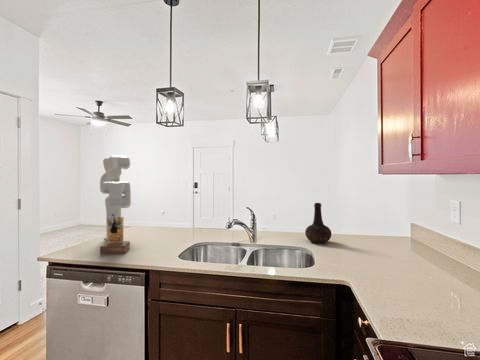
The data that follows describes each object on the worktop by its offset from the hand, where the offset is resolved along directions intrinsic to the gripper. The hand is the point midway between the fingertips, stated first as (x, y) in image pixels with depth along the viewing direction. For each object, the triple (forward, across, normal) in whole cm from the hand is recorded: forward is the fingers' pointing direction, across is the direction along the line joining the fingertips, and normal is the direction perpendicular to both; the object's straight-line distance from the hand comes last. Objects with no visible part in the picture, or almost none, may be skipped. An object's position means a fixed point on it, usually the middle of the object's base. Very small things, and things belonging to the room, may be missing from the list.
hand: (115, 231), depth 171 cm
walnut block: (+12, 0, 0) cm, 12 cm away
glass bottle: (+12, -8, +135) cm, 136 cm away
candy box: (+7, 0, 0) cm, 7 cm away
